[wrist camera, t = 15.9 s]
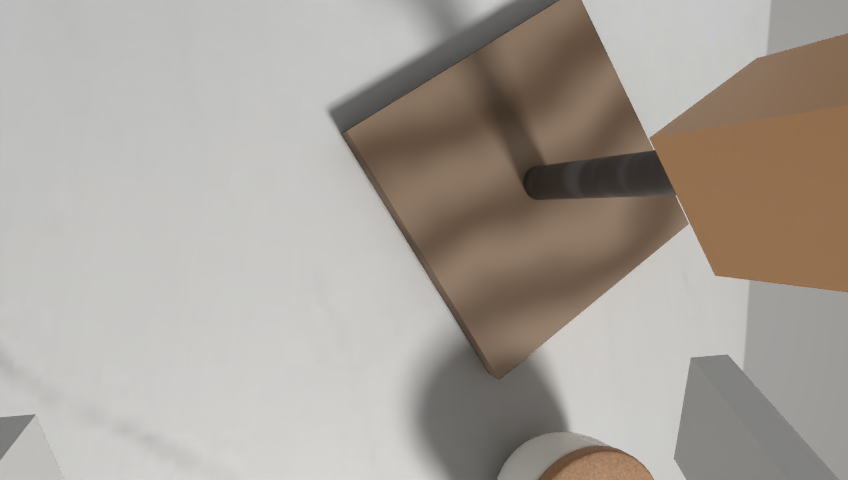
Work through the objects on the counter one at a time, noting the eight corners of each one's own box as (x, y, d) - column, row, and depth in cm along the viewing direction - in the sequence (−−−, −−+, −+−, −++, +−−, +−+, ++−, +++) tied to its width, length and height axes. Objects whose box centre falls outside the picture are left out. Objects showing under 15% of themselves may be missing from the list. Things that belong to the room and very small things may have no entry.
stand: (341, 134, 38) (1222, -362, 5) (564, -3, 43) (1691, -672, 10) (489, 374, 42) (1449, 922, 10) (674, 223, 48) (1692, 250, 15)
